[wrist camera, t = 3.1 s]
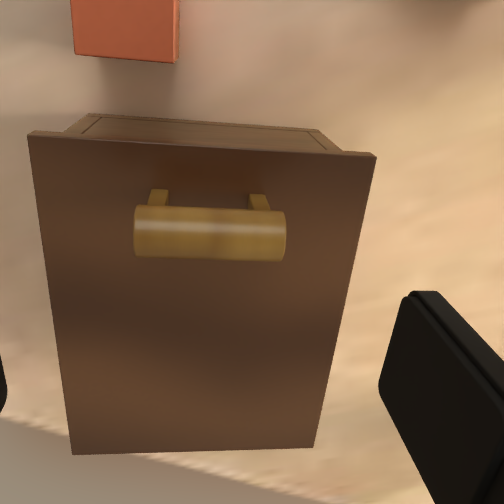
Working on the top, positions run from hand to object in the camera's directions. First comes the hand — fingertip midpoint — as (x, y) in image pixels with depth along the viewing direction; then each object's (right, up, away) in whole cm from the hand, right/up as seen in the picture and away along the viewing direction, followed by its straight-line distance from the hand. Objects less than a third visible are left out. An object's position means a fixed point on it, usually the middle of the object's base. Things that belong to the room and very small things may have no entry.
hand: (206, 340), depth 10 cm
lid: (-1, -1, +12) cm, 12 cm away
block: (-5, +15, +13) cm, 21 cm away
